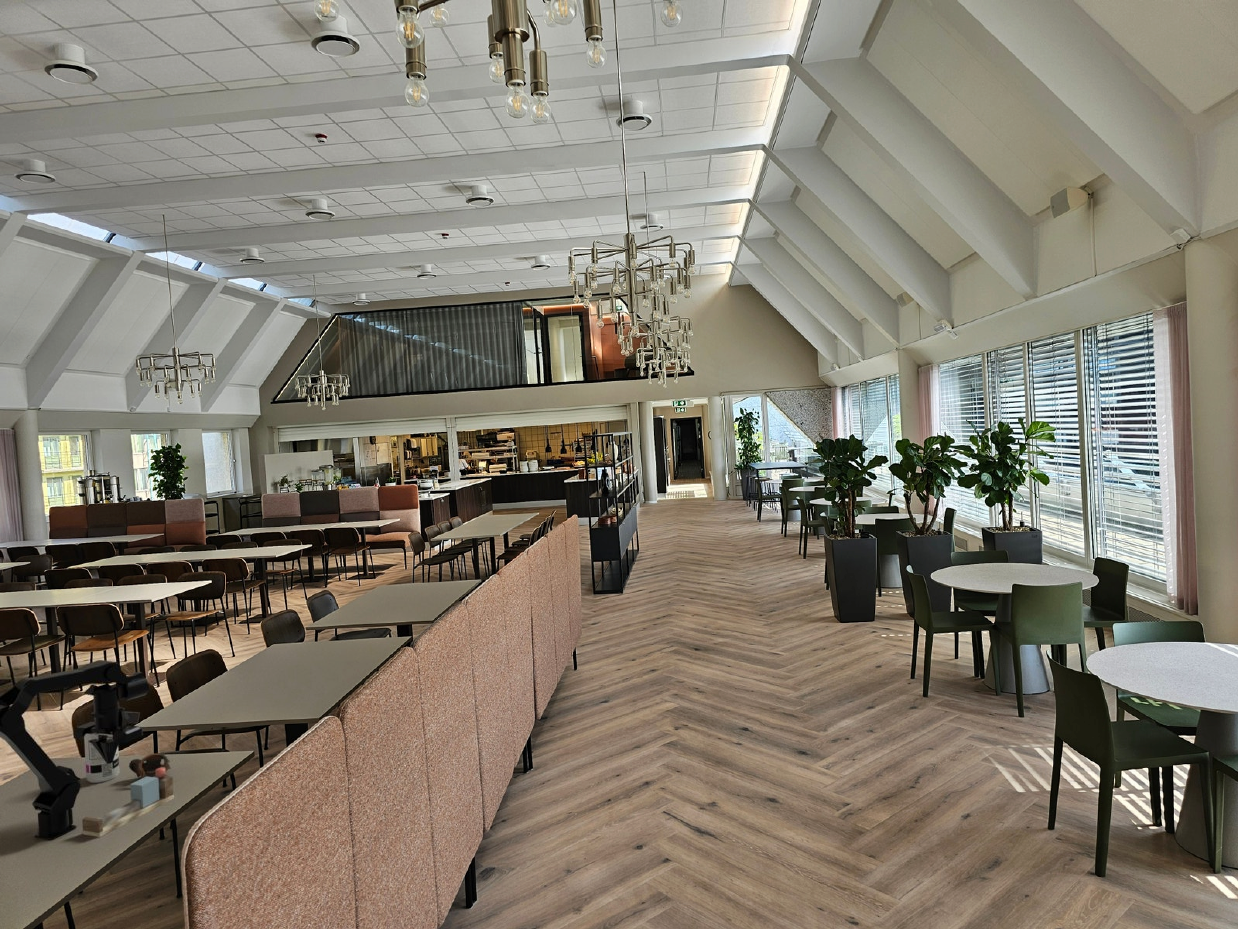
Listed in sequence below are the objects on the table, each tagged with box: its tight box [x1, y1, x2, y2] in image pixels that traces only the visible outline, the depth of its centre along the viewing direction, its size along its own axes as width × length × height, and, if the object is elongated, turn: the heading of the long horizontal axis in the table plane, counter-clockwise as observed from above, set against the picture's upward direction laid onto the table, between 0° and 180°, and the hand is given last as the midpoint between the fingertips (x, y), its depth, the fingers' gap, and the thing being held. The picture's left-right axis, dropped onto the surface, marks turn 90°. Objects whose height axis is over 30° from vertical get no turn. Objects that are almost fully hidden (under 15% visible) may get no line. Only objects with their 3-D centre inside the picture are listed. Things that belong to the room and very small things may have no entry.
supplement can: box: [83, 734, 120, 784], centre depth 231 cm, size 8×8×15 cm
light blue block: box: [129, 777, 159, 808], centre depth 210 cm, size 5×4×6 cm
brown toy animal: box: [128, 752, 171, 779], centre depth 229 cm, size 12×10×8 cm
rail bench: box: [81, 774, 175, 838], centre depth 206 cm, size 23×6×6 cm, turn 163°
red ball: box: [155, 767, 167, 778], centre depth 215 cm, size 2×2×2 cm
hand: (109, 763), depth 210 cm, fingers closed
